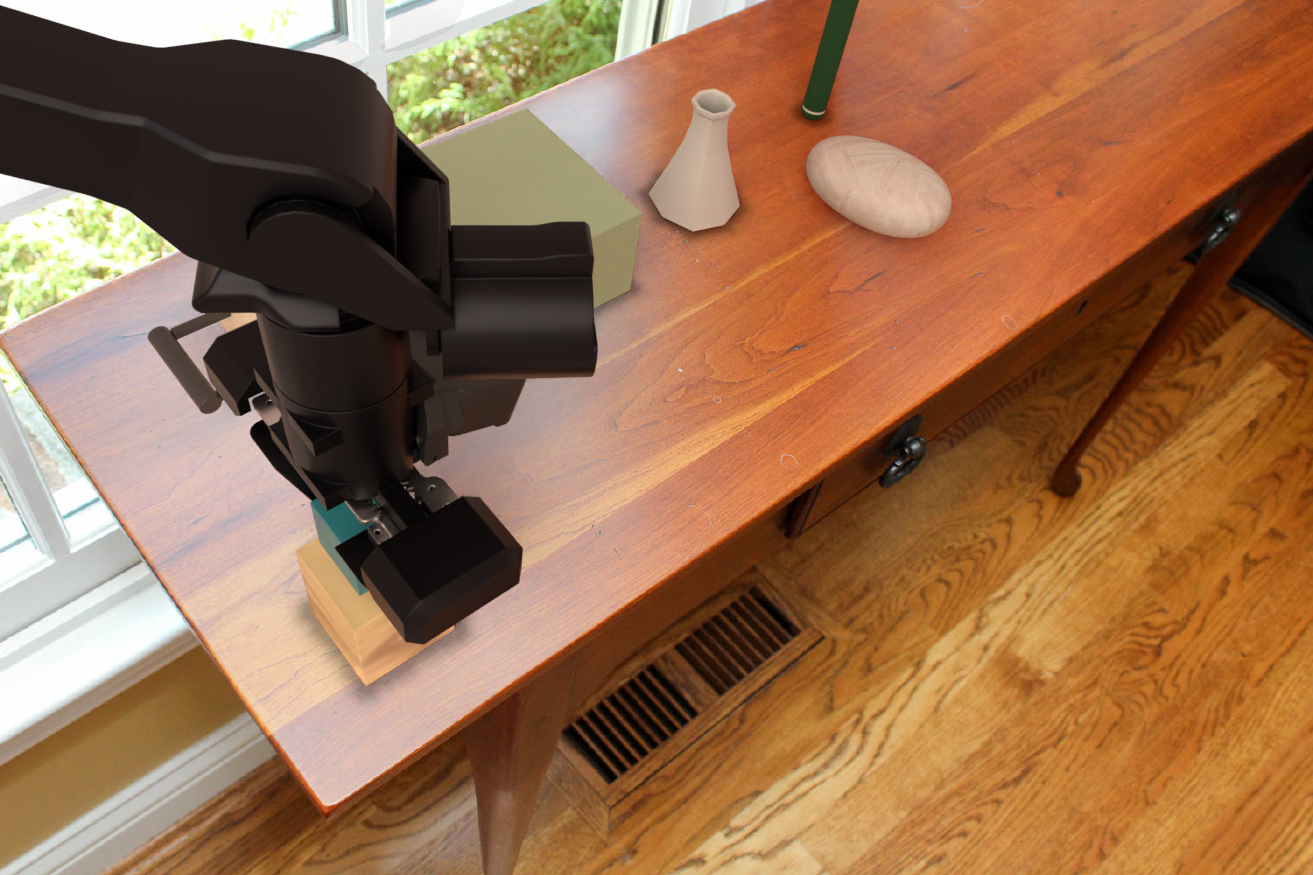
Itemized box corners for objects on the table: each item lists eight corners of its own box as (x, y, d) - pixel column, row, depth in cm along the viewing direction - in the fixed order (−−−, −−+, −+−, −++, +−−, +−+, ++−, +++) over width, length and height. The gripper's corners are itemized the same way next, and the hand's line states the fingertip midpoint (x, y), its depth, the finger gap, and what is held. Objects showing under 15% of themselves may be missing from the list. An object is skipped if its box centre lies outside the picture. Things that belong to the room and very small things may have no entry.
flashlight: (779, 97, 99) (835, -120, 83) (830, 97, 100) (896, -117, 84) (792, 132, 96) (853, -86, 81) (845, 132, 97) (916, -83, 82)
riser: (365, 687, 61) (353, 631, 55) (311, 610, 63) (294, 550, 58) (454, 629, 64) (452, 571, 58) (399, 558, 66) (391, 496, 60)
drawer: (234, 476, 67) (215, 419, 62) (142, 350, 72) (118, 287, 67) (496, 343, 76) (497, 284, 71) (398, 238, 81) (393, 177, 76)
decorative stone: (777, 198, 91) (791, 150, 87) (832, 150, 96) (847, 104, 92) (906, 274, 87) (926, 229, 83) (956, 221, 92) (978, 176, 88)
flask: (632, 194, 89) (647, 92, 81) (695, 163, 92) (714, 62, 84) (691, 245, 86) (713, 144, 78) (754, 210, 89) (780, 110, 81)
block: (359, 596, 55) (352, 557, 52) (319, 542, 57) (309, 501, 54) (426, 556, 57) (422, 517, 54) (385, 505, 59) (379, 463, 55)
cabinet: (457, 379, 75) (455, 302, 69) (352, 262, 80) (341, 180, 74) (630, 289, 82) (642, 212, 76) (523, 187, 87) (526, 107, 81)
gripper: (632, 417, 45) (600, 595, 57) (388, 166, 52) (407, 372, 64) (400, 554, 39) (420, 717, 52) (165, 253, 47) (232, 460, 59)
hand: (372, 549), depth 57 cm, fingers closed on block, 4 cm apart
